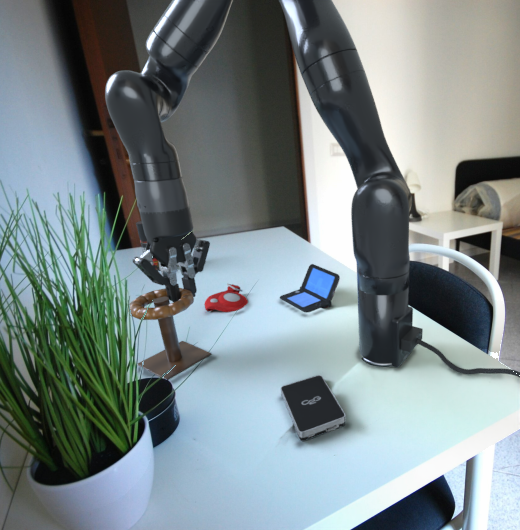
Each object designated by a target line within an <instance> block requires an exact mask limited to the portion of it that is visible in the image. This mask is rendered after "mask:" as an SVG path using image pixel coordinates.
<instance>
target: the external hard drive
mask: <svg viewBox="0 0 520 530" xmlns="http://www.w3.org/2000/svg"><path fill="white" fill-rule="evenodd" d="M280 395H281V397H282V399H283V403H284V405H285V407H286V409H287V412H288V414H289V416H290V419H291V422H292V424H293V427H294V429H295V432H296V434H297V437H298V439H299V440H300V441H302V442H305V441H308V440H311V439H313V438H316V437H319V436H321V435H323V434H326V433H329V432H331V431H334V430H338V429H339V428H342V427H344V426H345V425H346V421H347V419H346V412H345V411H344V410H343V407H342V406H341V405H340V403H339V401H338V399H337V398H336V396H335V395H334V393H333V391H332V389H330V386H329V384H328V383H327V382H326V380H325V378H324V376H323V375H321V374H317V375H314V376H311V377H307V378H304V379H301V380H298V381H294V382H290V383H287V384H284V385H282V386H281V387H280Z"/></svg>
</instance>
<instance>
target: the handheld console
mask: <svg viewBox="0 0 520 530" xmlns="http://www.w3.org/2000/svg"><path fill="white" fill-rule="evenodd" d="M340 279H341V276H340V274H338V273H336V272H333V271H331V270H328V269H326V268H323V267H321V266H319V265H316V264H314V263H311V264H309V266H308V268H307V270H306V273H305V276H304V278H303V281H302V283H301V286H300V287H299V289H296V290H293V291H290V292H288V293H285V294H282V295H280V296H279V299H280V300H282V301H284V302H285V303H287V304H289V305H290V306H293V307H294V308H295V309H297V310H300V311H301V312H302V313H305V314H306V313H311V312H314V311H316V310H318V309H322V310H324V309H326V308H330V307H332V301H333V298H334V295H335V292H336V290H337V287H338V284H339V282H340Z"/></svg>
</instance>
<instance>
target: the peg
mask: <svg viewBox="0 0 520 530" xmlns="http://www.w3.org/2000/svg"><path fill="white" fill-rule="evenodd" d="M169 304H171V301H170V300H169V298H168V297H160V298H157V299H155V300H154V301H153V306H154V308H155V307H160V306H165V305H169ZM157 323H158V327H159V331H160V334H161V338H162V339H161V340H162V343H163V346H164V349H163V350H160V351H159V352H157V353H155V354H153V355H151V356H150V357H148V358H146V359H144V360H142V361H140V362H138V363H137V364H138V365H137V366H138V367H140V368H142V362H143V361H144V365H143V368H142V369H144V370H145V371H147V372H150V373H152V374H153V375H155V376H157V377H159V378H161V377H162V375H163V374H164V373H166V372H167V371H168V370H170V369H171V368H172V367H173V366H174V365H176V366H175V367H174V368H173V369H172V370H171V371H170V372H169V373H168V374H166V375H165V376H164V379H168V380H169V379H172V378H173V377H175V376H176V375H179V374H180V373H182V372H184V371H185V370H187V369H189V368H190V367H192V366H194V365H196V364H197V363H199V362H201V361H202V360H205V359H206V358H208V357H209V356H211V355H212V352H209V351H207V350H206V349H202V348H201V347H198V346H195V345H194V344H191V343H189V342H187V341H184V340H179V337H178V333H177V328H176V324H175V320H174V316H171V317H166V318H162V319H157ZM164 379H163V380H164Z"/></svg>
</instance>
